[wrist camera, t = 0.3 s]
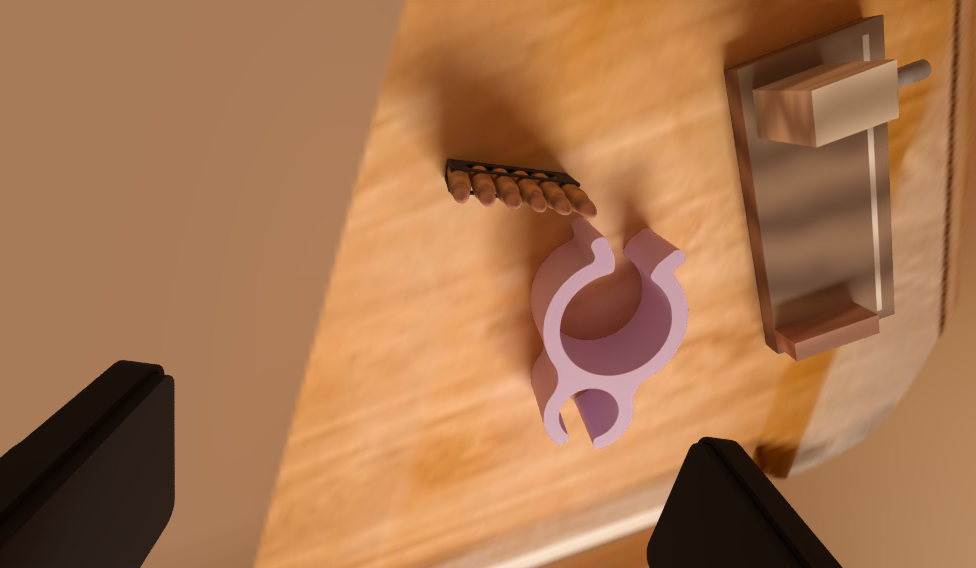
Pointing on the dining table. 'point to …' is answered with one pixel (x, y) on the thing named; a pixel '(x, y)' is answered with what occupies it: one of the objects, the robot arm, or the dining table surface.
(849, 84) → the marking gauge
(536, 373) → the clip
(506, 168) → the ammunition clip
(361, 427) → the dining table surface
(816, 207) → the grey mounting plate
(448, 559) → the dining table surface
